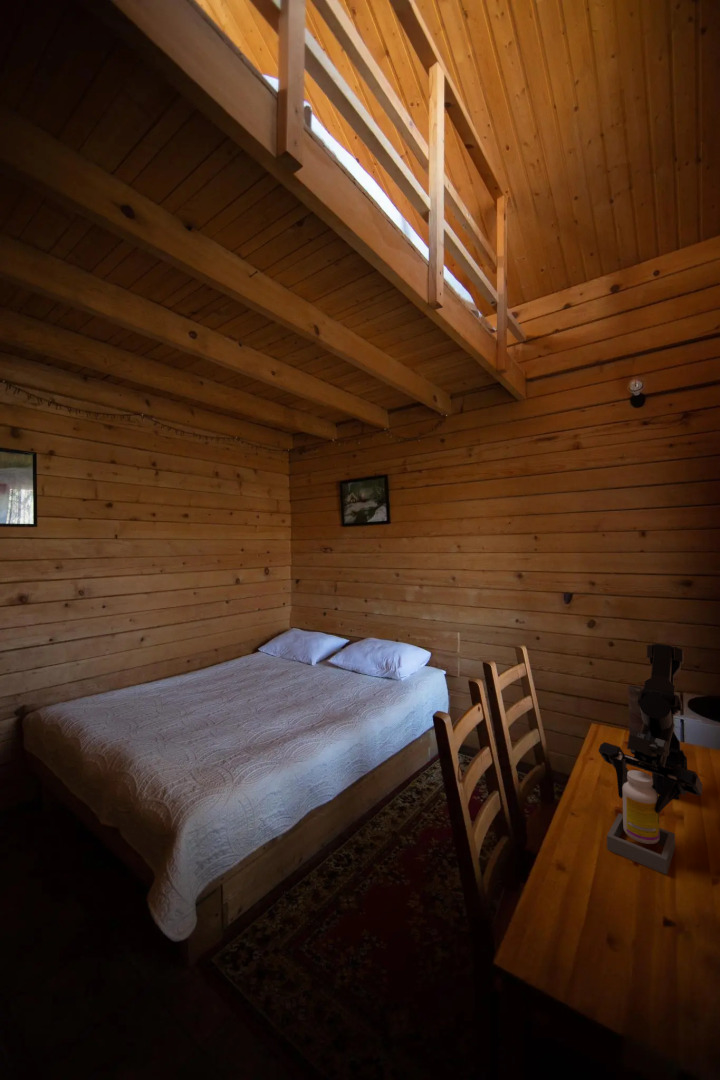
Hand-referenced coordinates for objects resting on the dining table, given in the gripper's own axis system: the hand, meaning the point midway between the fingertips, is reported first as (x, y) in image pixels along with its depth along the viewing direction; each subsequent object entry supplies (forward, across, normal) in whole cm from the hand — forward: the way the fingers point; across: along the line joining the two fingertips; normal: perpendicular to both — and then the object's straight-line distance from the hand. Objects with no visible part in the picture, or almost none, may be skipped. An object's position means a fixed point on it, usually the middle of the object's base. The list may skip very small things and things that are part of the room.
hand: (637, 804), depth 93 cm
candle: (-29, -16, +44) cm, 55 cm away
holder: (+6, 0, +8) cm, 10 cm away
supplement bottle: (+4, 0, +6) cm, 7 cm away
